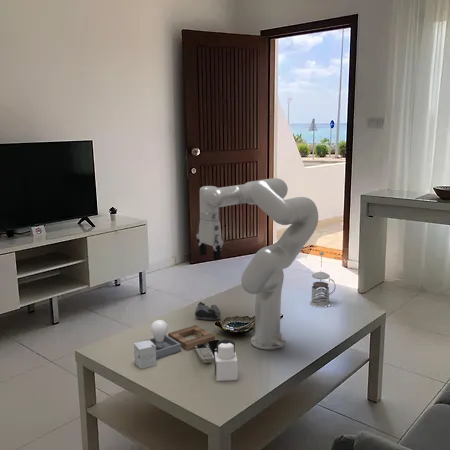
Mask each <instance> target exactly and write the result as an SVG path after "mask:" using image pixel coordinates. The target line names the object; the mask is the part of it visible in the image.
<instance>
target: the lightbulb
mask: <svg viewBox="0 0 450 450" xmlns="http://www.w3.org/2000/svg"><path fill="white" fill-rule="evenodd" d="M168 331H169V325H168V323H167V322H166V321H164V320H163V319H157V320H155V321H153V322H152V323H151V325H150V332H151V334H152V335H153V338H154V337H155V340H156V347H157V348H159V349H161V348H163V340H164V337H165V335H167V334H168Z"/></svg>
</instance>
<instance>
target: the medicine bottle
mask: <svg viewBox="0 0 450 450" xmlns="http://www.w3.org/2000/svg"><path fill="white" fill-rule="evenodd" d="M238 365H239V364H238V357H237V353H236V343H235V342H234V341H233V340H230V339H222V340H219V341H217V343H216V351H214V375H215V381H216V382H222V381H225V382H226V381H237V380H238V379H239V377H238V375H239V374H238V373H239V372H238V371H239V369H238V367H239V366H238Z"/></svg>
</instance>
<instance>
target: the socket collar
mask: <svg viewBox="0 0 450 450" xmlns="http://www.w3.org/2000/svg"><path fill="white" fill-rule="evenodd" d="M167 336H169V337H170V338H172V339H174V340H175V341H177V342H179V343H180V344H181V349H183V350H185V351H186V352H188V351H191V350H194V349H196V348H195V346H196V345H198V344H206V345H208V344H207V343H208V342H209V341H214V340H215V341H216V335H215V334H213V333H211V332H209V331H208V330H206V329H204V328H203V327H200V326H199V325H196V324H194V325H191V326H189V327H188V326H187V327H185V328H181V329H178V330H174V331H171V332H169V333H168V332H167ZM191 336H195V338H192V339H187V338H189V337H191Z"/></svg>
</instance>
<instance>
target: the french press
mask: <svg viewBox="0 0 450 450" xmlns="http://www.w3.org/2000/svg"><path fill="white" fill-rule="evenodd" d="M319 255H320V259H321V261H320V263H321V264H320V266H322V262H323V261H322V259H323V257H322V256H323V255H325V254H324V252H323V251H320V252H319ZM311 277H312V278H314V279H316V280H320V281H315V282H313V283H312V286H311V301H309V303H310V304H309V305H310V306H311V305H312V306H311V307H313V306H316V307H315V308H317V307H325V306H328V305H329V304H331V303H330V296H331V295H332V294H334V293H335V291H336V287H333V288H334V289H333V290H332V292H330V291H329V290H330V287H329V283H330V281H332V283H333V284H334V285H336V284H335V281H334V280H333V279H332V278H331V276H330V274H328V273H326V272H324V271H323V272H322V271H317V272H314V273H312V274H311ZM326 279H327V280H328V283H327V282H324V281H322V280H326Z"/></svg>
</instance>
